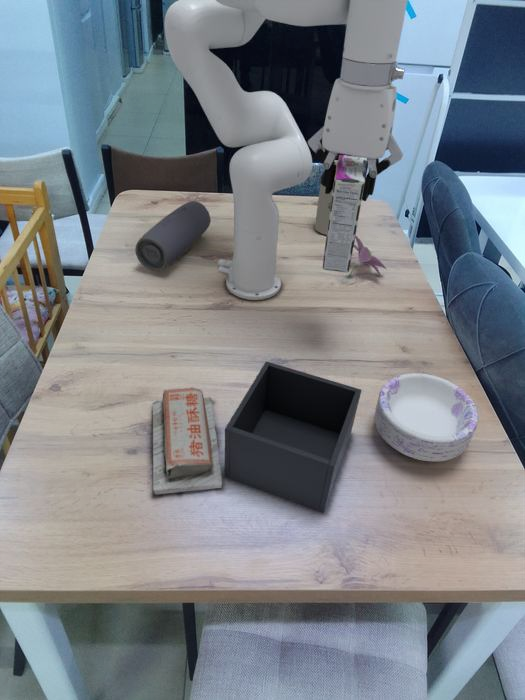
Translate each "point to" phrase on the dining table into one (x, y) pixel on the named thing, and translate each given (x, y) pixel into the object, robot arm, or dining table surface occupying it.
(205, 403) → the packaged product
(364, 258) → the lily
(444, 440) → the paper bowls
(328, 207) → the travel mug
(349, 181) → the candy bar box
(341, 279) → the dining table surface
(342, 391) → the open storage box
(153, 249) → the bluetooth speaker
